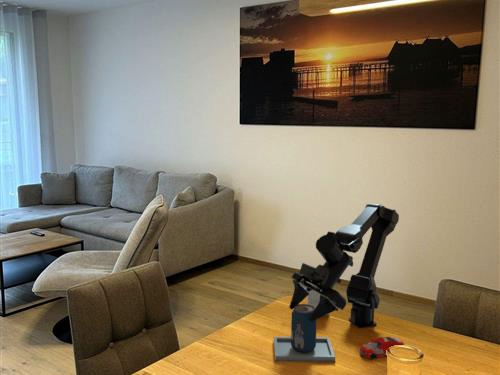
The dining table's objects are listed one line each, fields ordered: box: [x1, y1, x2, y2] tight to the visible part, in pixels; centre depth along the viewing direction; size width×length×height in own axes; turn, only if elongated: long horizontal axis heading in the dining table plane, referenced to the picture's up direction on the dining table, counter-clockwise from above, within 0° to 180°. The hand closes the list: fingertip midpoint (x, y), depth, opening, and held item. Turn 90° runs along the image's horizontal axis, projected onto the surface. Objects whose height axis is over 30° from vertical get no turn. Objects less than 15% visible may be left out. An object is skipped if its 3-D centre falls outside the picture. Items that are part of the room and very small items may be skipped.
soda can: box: [290, 303, 318, 354], centre depth 128 cm, size 7×7×12 cm
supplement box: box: [306, 290, 331, 316], centre depth 155 cm, size 7×7×13 cm
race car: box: [359, 336, 405, 360], centre depth 128 cm, size 13×5×4 cm, turn 107°
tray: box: [273, 336, 336, 363], centre depth 128 cm, size 16×11×2 cm
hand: (299, 314), depth 126 cm, fingers open, 9 cm apart
